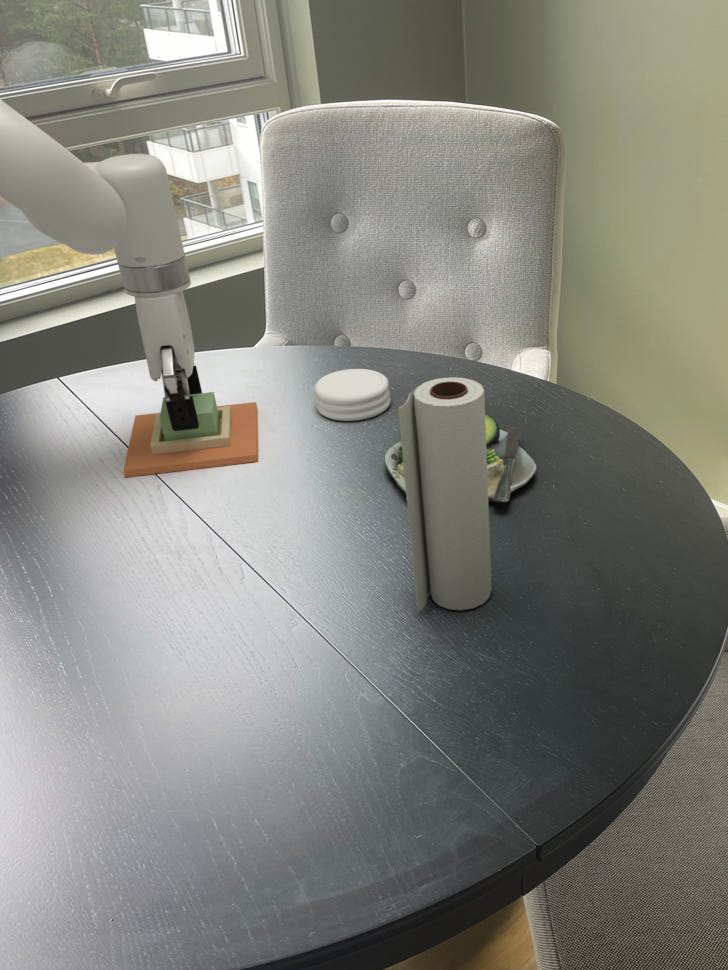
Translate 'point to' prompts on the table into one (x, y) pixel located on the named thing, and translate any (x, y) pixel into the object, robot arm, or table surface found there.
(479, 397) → the paper towel roll
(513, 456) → the salad plate
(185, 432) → the green block
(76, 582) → the table surface
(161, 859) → the table surface
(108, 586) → the table surface
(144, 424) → the base mat
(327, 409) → the coaster
